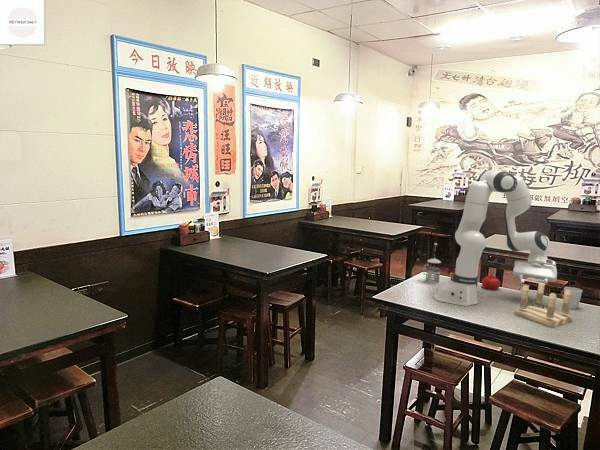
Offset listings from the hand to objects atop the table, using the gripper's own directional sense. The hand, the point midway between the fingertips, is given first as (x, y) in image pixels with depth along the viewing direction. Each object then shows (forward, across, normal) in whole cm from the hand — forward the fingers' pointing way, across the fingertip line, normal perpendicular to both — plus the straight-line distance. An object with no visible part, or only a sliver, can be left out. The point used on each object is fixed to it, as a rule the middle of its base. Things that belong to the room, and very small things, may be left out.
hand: (532, 284), depth 218 cm
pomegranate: (-6, -23, +24) cm, 34 cm away
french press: (+4, -54, +13) cm, 56 cm away
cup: (-1, +17, +19) cm, 26 cm away
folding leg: (+9, +4, +2) cm, 10 cm away
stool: (+18, +7, -2) cm, 20 cm away
